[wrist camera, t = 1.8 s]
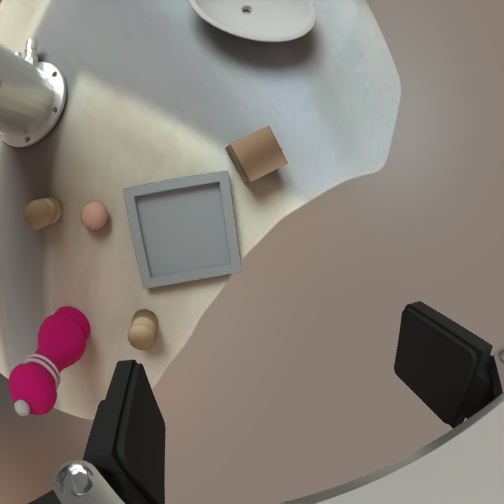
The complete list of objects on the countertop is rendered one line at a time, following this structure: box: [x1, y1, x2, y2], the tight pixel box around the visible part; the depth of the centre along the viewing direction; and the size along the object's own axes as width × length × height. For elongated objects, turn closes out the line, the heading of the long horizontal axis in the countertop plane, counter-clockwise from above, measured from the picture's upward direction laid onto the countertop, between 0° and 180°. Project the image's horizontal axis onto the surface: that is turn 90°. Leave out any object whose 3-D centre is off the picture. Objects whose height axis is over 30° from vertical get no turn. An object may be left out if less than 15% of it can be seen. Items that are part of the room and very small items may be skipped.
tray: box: [123, 171, 242, 289], centre depth 37 cm, size 13×13×2 cm
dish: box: [188, 0, 317, 42], centre depth 29 cm, size 18×14×5 cm
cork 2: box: [128, 309, 158, 350], centre depth 38 cm, size 4×4×5 cm
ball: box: [81, 201, 108, 230], centre depth 33 cm, size 4×4×4 cm
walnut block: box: [226, 126, 288, 182], centre depth 35 cm, size 5×5×5 cm
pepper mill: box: [8, 306, 90, 416], centre depth 28 cm, size 7×7×20 cm
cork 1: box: [25, 197, 63, 230], centre depth 31 cm, size 4×4×5 cm
